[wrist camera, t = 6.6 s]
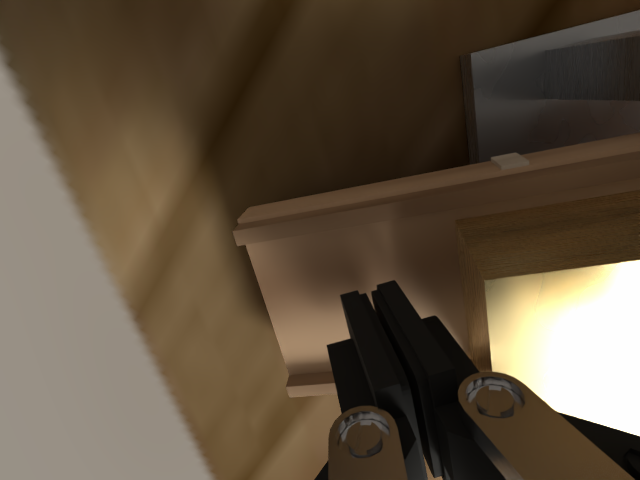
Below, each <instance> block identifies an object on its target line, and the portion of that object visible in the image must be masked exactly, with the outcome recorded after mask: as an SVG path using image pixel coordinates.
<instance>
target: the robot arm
mask: <svg viewBox="0 0 640 480" xmlns="http://www.w3.org/2000/svg"><path fill="white" fill-rule="evenodd" d="M371 295H372V300H373V305H374V308H373V306H372V304H371V302H370V300H369V298H368V296H367V294H366V293H363V294H359V292H358V290H356V291H352V292H348V293H345V294H341V295H340V298H341V302H342V306H343V310H344V315H345V319H346V323H347V327H348V331H349V335H350V339H346V340H343V341H339V342H335V343H332V344H328V345H327V350H328V354H329V359H330V363H331V368H332V372H333V377H334V381H335V386H336V390H337V395H338V399H339V403H340V408H341V412H342V414H341V415H340V416H339V417H338V418H337V419H336V420H335V421H334V423H333V425H332V427H331V429H330V433H329V446H328V461H327V463H326V464H325V466H324V467H323V468H322V470H321V471H320V473H319V474H318V475H317V477H316V478H315V480H428V478H427V473H426V467H425V462H424V457H425V459H426V461H427V464H428V466H429V468H430V471H431V473H432V475H433V477H434V478H436V477H440V476H442V478H443V480H640V436H639V435H635V434H632V433H629V432H625V431H622V430H619V429H615V428H612V427H609V426H605V425H602V424H598V423H595V422H592V421H588V420H585V419H582V418H578V417H575V416H572V415H568V414H565V413H561V412H558V411H555V410H554V409H553V408H552V407H551V406H549V405H548V404H547V403H546V402H545V401H544V400H542V399H541V398H540V397H539V396H538V395H537V394H535V393H534V392H533V391H532V390H531V389H530V388H529V387H527V386H526V385H525V384H524V383H522V382H521V381H519V380H518V379H516V378H515V377H513V376H510V375H507V374H505V373H500V372H493V371H491V372H479V370H478V369H477V368H476V366H475V365H474V364H473V363H472V361H471V360H470V359H469V357H468V356H467V355H466V353H465V352H464V351H463V349H462V348H461V347H460V345H459V344H458V343H457V341H456V340H455V339H454V338H453V336H452V335H451V334H450V332H449V331H448V330H447V328H446V327H445V326H444V324H443V323H442V322H441V320H440V319H439V318H438V317H437V316H435V315H434V316H430V317H426V318H423V319H421V317H420V316H419V314H418V313H417V311H416V310H415V308H414V307H413V306H412V304H411V303H410V301H409V300H408V298H407V297H406V295H405V294H404V292H403V291H402V289H401V288H400V286H399V285H398V283H397V282H396V281H395V280H393V281H389V282H385V283H382V284H378V285H377V290H374V291H371ZM423 454H424V457H423Z"/></svg>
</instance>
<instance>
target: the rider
mask: <svg viewBox="0 0 640 480" xmlns="http://www.w3.org/2000/svg"><path fill="white" fill-rule="evenodd" d="M454 221H455V230H456V238H457V247H458V256H459V265H460V273H461V282H462V291H463V300H464V309H465V317H466V326H467V335H468V344H469V352H470V355H471V358H472V361H473V364H474V365H475V366H476V368H477V369H478V370H479V372H491V371H493V372H500V373H505V374H507V375H510V376H513V377H515V378H516V379H518V380H519V381H521V382H522V383H524V384H525V385H526V386H527V387H529V388H530V389H531V390H532V391H533V392H534V393H535V394H537V395H538V396H539V397H540V398H541V399H542V400H544V401H545V402H546V403H547V404H548V405H549V406H551V407H552V408H553V409H554V410H555V411H558V412H561V413H565V414H568V415H572V416H575V417H578V418H582V419H585V420H588V421H592V422H595V423H598V424H602V425H605V426H609V427H612V428H615V429H619V430H622V431H625V432H629V433H632V434H635V435H639V436H640V190H635V191H629V192H623V193H617V194H611V195H605V196H599V197H593V198H587V199H581V200H575V201H569V202H563V203H557V204H551V205H544V206H538V207H532V208H526V209H520V210H514V211H508V212H502V213H496V214H490V215H484V216H478V217H472V218H466V219H459V220H454Z"/></svg>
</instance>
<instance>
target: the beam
mask: <svg viewBox="0 0 640 480" xmlns="http://www.w3.org/2000/svg"><path fill="white" fill-rule="evenodd" d="M635 190H640V132H639V133H634V134H628V135H623V136H618V137H613V138H608V139H602V140H597V141H592V142H587V143H582V144H576V145H571V146H566V147H561V148H555V149H550V150H545V151H540V152H535V153H529V154H524V155H519V154H518V153H511V154H506V155H500V156H495V157H491V161H488V162H482V163H477V164H472V165H467V166H462V167H456V168H451V169H446V170H441V171H435V172H430V173H425V174H420V175H415V176H409V177H404V178H399V179H394V180H388V181H383V182H378V183H373V184H368V185H362V186H357V187H352V188H347V189H341V190H336V191H331V192H326V193H321V194H315V195H310V196H305V197H300V198H295V199H289V200H284V201H279V202H274V203H268V204H263V205H258V206H253V207H248V208H247V210H246V211H245V212H244V213H243V214H242V215H241V216H240V217H239V218H238V219H237V221H238V225H237V226H236V228H235V229H234V230H233V231H232V233H233V235H234V238H235V241H236V244H237V246H241V245H246V248H247V251H248V254H249V257H250V260H251V263H252V266H253V268H254V271H255V274H256V277H257V280H258V283H259V286H260V289H261V292H262V295H263V298H264V301H265V304H266V307H267V310H268V313H269V316H270V319H271V322H272V325H273V328H274V331H275V334H276V337H277V340H278V343H279V346H280V349H281V352H282V355H283V358H284V360H285V363H286V366H287V369H288V372H289V378H288V382H287V385H286V389H287V391H288V394H289V397H302V396H316V395H329V394H337V390H336V386H335V381H334V377H333V372H332V368H331V363H330V359H329V354H328V350H327V345H328V344H332V343H335V342H339V341H343V340H346V339H350V335H349V331H348V327H347V323H346V319H345V315H344V310H343V306H342V302H341V298H340V295H341V294H345V293H348V292H352V291H356V290H358V292H359V294H363V293H366V294H367V296H368V298H369V300H370V302H371V304H372V306H373V308H374V305H373V300H372V295H371V291H374V290H377V285H378V284H382V283H385V282H389V281H393V280H395V281H396V282H397V283H398V285H399V286H400V288H401V289H402V291H403V292H404V294H405V295H406V297H407V298H408V300H409V301H410V303H411V304H412V306H413V307H414V308H415V310H416V311H417V313H418V314H419V316H420V317H421V319H423V318H426V317H430V316H434V315H435V316H437V317H438V318H439V319H440V320H441V322H442V323H443V324H444V326H445V327H446V328H447V330H448V331H449V332H450V334H451V335H452V336H453V338H454V339H455V340H456V341H457V343H458V344H459V345H460V347H461V348H462V349H463V351H464V352H465V353H466V355H467V356H468V357H469V359H470V360H471V361H472V358H471V355H470V352H469V344H468V335H467V326H466V317H465V309H464V300H463V291H462V282H461V273H460V265H459V256H458V247H457V238H456V230H455V221H454V220H459V219H466V218H472V217H478V216H484V215H490V214H496V213H502V212H508V211H514V210H520V209H526V208H532V207H538V206H544V205H551V204H557V203H563V202H569V201H575V200H581V199H587V198H593V197H599V196H605V195H611V194H617V193H623V192H629V191H635ZM472 363H473V361H472Z"/></svg>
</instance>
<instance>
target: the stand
mask: <svg viewBox="0 0 640 480" xmlns="http://www.w3.org/2000/svg"><path fill="white" fill-rule="evenodd" d="M460 63H461V74H462V85H463V96H464V107H465V118H466V129H467V140H468V151H469V162H470V165H472V164H477V163H482V162H488V161H491V157H495V156H500V155H506V154H511V153H518V154H519V155H524V154H529V153H535V152H540V151H545V150H550V149H555V148H561V147H566V146H571V145H576V144H582V143H587V142H592V141H597V140H602V139H608V138H613V137H618V136H623V135H628V134H634V133H639V132H640V10H636V11H632V12H628V13H624V14H620V15H617V16H613V17H609V18H605V19H601V20H597V21H593V22H589V23H586V24H582V25H578V26H574V27H570V28H566V29H562V30H558V31H554V32H551V33H547V34H543V35H539V36H535V37H531V38H527V39H523V40H519V41H516V42H512V43H508V44H504V45H500V46H496V47H492V48H488V49H484V50H481V51H477V52H473V53H469V54H465V55H461V56H460Z"/></svg>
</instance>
